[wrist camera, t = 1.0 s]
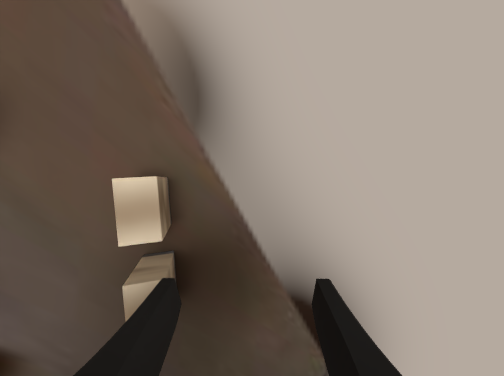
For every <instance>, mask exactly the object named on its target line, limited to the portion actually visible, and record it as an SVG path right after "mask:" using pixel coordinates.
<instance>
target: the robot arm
mask: <svg viewBox="0 0 504 376" xmlns="http://www.w3.org/2000/svg"><path fill="white" fill-rule="evenodd" d="M180 308H181V300H180V296H179V292H178V289H177V285H176V281H175V278H162V279H161V280H160V281H159V283H158V284H157V285H156V286H155V288H154V289H153V290H152V291H151V293H150V294H149V295H148V296H147V298H146V299H145V300H144V301H143V302H142V304H141V305H140V306H139V307H138V308H137V310H136V311H135V312H134V313H133V314H132V315H131V317H130V318H129V319H128V320H127V321H126V322H125V323H124V325H123V326H122V327H121V328H120V329H119V330H118V331H117V332H116V333H115V334H114V336H113V337H112V338H111V339H110V340H109V341H108V342H107V343H106V344H105V345H104V346H103V347H102V348H101V349H100V350H99V351H98V352H97V353H96V354H95V355H94V356H93V357H92V358H91V359H90V360H89V361H88V362H87V363H86V364H85V365H84V366H83V367H82V368H81V369H80V370H79V371H78V372H77V373H76V374H75V375H73V376H159V373H160V371H161V368H162V365H163V362H164V359H165V356H166V354H167V351H168V348H169V345H170V342H171V339H172V336H173V333H174V331H175V328H176V324H177V320H178V316H179V312H180ZM312 308H313V315H314V320H315V325H316V330H317V334H318V337H319V341H320V345H321V348H322V352H323V356H324V359H325V363H326V366H327V370H328V373H329V376H402V375H401V374H400V373H399V371H398V370H397V369H396V368H395V367H394V366H393V365H392V363H391V362H390V361H389V360H388V359H387V358H386V356H385V355H384V354H383V353H382V351H381V350H380V349H379V348H378V347H377V345H376V344H375V343H374V342H373V340H372V339H371V338H370V337H369V335H368V334H367V333H366V331H365V330H364V329H363V327H362V326H361V325H360V323H359V322H358V321H357V319H356V318H355V316H354V315H353V314H352V312H351V311H350V310H349V308H348V307H347V305H346V304H345V302H344V301H343V299H342V298H341V296H340V295H339V293H338V292H337V290H336V289H335V287H334V285H333V284H332V282H331V280H329V279H316V284H315V290H314V295H313V301H312Z"/></svg>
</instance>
